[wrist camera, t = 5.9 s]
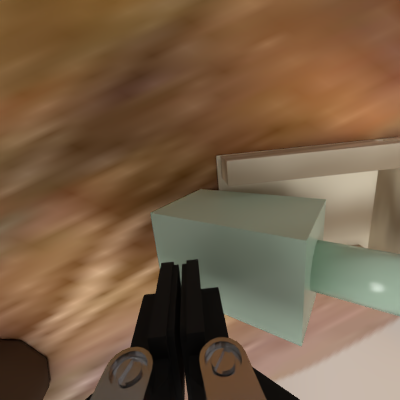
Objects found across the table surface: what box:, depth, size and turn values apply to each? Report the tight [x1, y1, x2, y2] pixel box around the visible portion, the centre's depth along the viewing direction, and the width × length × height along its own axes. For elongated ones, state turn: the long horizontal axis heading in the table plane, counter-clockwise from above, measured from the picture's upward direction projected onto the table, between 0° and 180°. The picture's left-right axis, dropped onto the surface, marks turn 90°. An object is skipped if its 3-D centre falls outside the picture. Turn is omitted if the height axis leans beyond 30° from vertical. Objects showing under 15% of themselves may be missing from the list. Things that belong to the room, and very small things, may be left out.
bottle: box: [150, 189, 400, 346], centre depth 12 cm, size 5×5×12 cm
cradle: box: [216, 137, 400, 254], centre depth 16 cm, size 10×13×3 cm
